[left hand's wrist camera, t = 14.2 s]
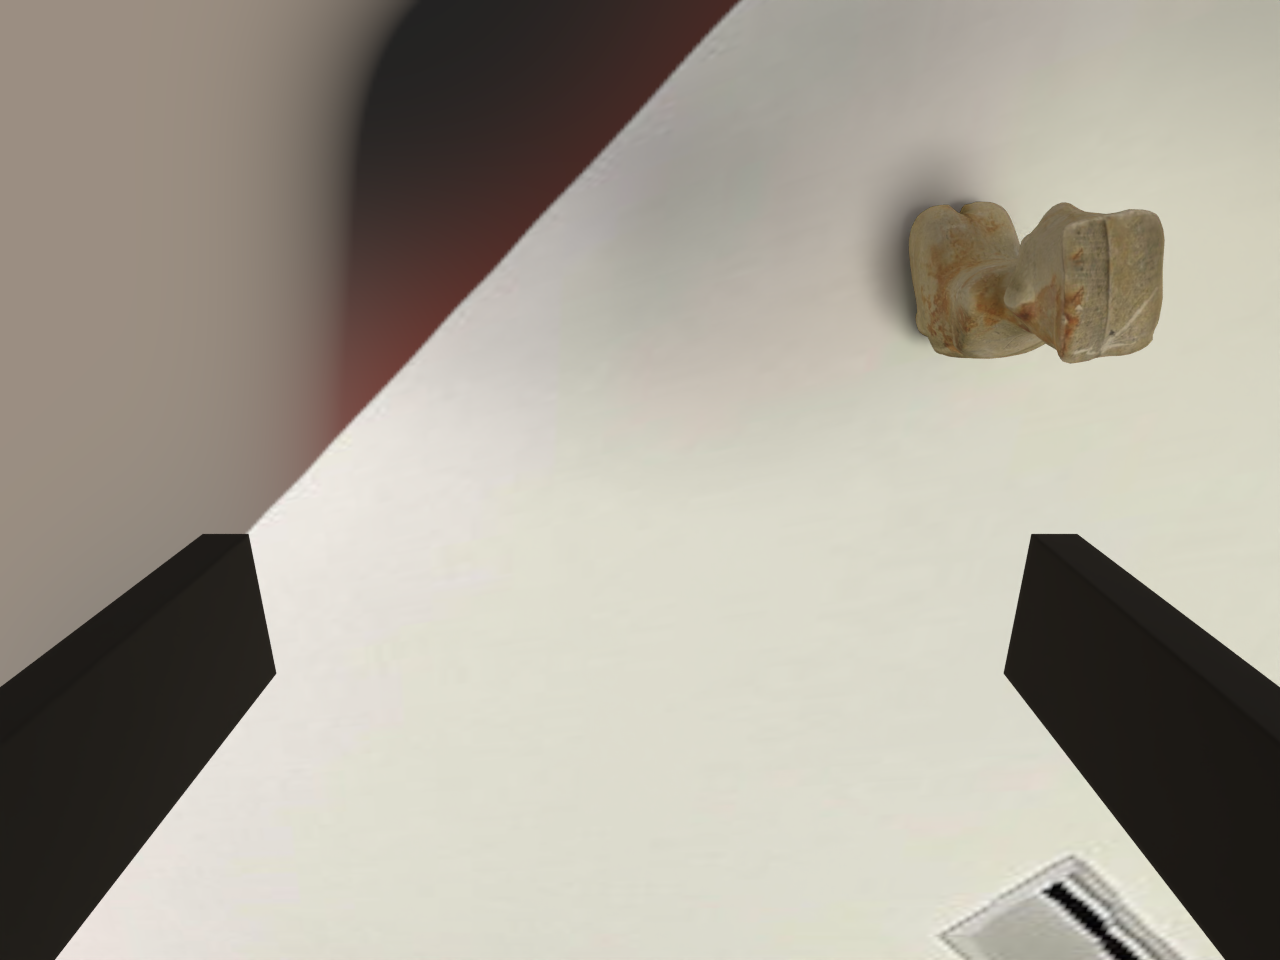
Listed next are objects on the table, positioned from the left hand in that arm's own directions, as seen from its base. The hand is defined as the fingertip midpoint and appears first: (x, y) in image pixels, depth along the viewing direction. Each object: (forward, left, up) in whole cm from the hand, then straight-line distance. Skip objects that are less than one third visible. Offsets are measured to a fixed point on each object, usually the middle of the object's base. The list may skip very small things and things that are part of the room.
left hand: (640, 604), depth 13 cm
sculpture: (-13, +9, -30) cm, 34 cm away
